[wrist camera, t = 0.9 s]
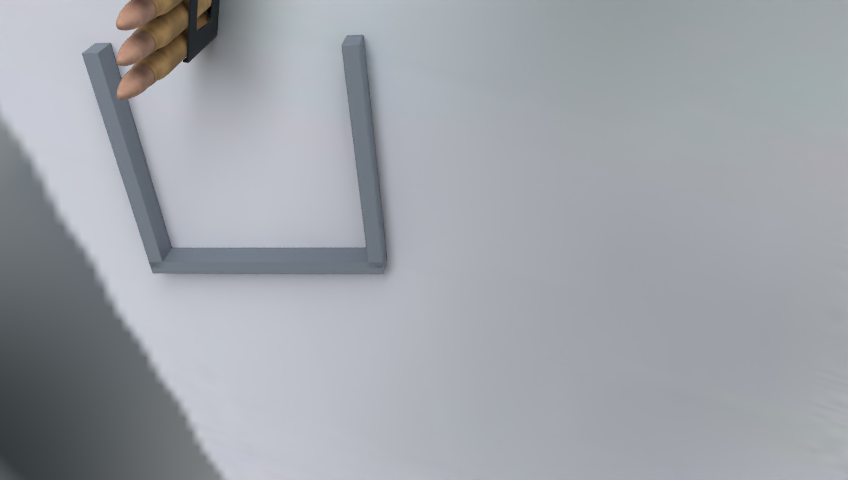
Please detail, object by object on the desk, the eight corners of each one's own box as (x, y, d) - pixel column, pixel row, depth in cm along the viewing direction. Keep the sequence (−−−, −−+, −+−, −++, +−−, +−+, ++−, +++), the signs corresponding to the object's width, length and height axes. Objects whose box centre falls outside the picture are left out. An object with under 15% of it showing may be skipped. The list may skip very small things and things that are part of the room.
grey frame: (95, 43, 47) (81, 53, 45) (363, 35, 45) (358, 45, 43) (162, 259, 56) (152, 273, 54) (386, 259, 54) (383, 274, 53)
